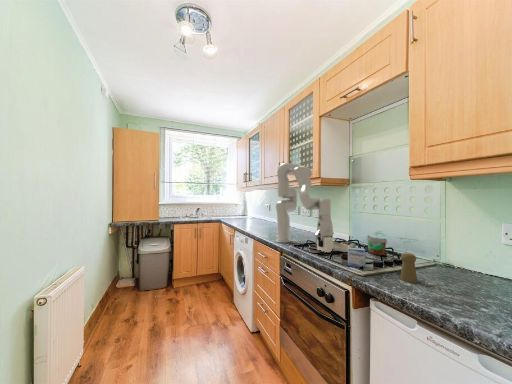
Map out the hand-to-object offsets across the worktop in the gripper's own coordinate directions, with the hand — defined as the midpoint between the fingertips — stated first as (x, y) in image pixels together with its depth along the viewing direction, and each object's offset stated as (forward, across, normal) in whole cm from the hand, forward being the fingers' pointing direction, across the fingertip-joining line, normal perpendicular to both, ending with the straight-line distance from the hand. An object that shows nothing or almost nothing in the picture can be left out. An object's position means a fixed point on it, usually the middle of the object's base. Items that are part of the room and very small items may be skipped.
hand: (324, 245), depth 143 cm
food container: (+3, +19, -21) cm, 29 cm away
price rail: (+3, +8, 0) cm, 9 cm away
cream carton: (+3, 0, 0) cm, 3 cm away
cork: (+3, -8, -53) cm, 54 cm away
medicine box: (+3, -10, -30) cm, 32 cm away
